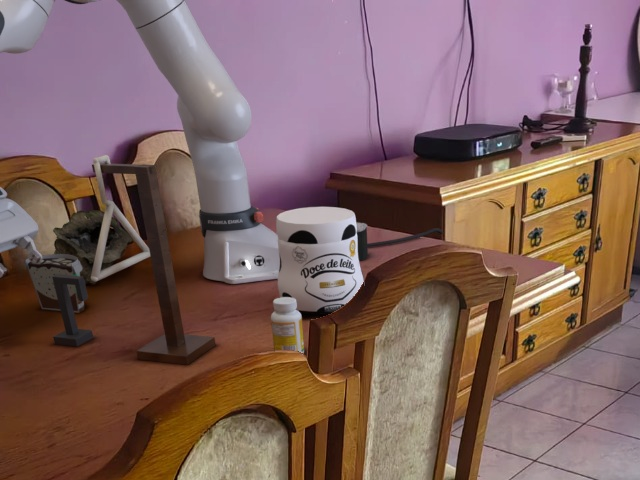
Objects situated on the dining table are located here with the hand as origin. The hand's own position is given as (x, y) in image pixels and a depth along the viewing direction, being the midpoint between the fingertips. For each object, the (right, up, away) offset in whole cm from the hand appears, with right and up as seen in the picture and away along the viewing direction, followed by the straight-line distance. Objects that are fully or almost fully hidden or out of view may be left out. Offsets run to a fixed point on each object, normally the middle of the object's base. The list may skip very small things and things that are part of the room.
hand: (21, 267), depth 152 cm
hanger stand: (+27, -15, -1) cm, 31 cm away
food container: (0, -1, +23) cm, 23 cm away
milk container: (+53, -2, +19) cm, 56 cm away
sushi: (+57, +19, +51) cm, 78 cm away
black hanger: (+9, -12, +5) cm, 16 cm away
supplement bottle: (+49, -17, -3) cm, 52 cm away
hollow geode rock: (-1, +12, +43) cm, 45 cm away
